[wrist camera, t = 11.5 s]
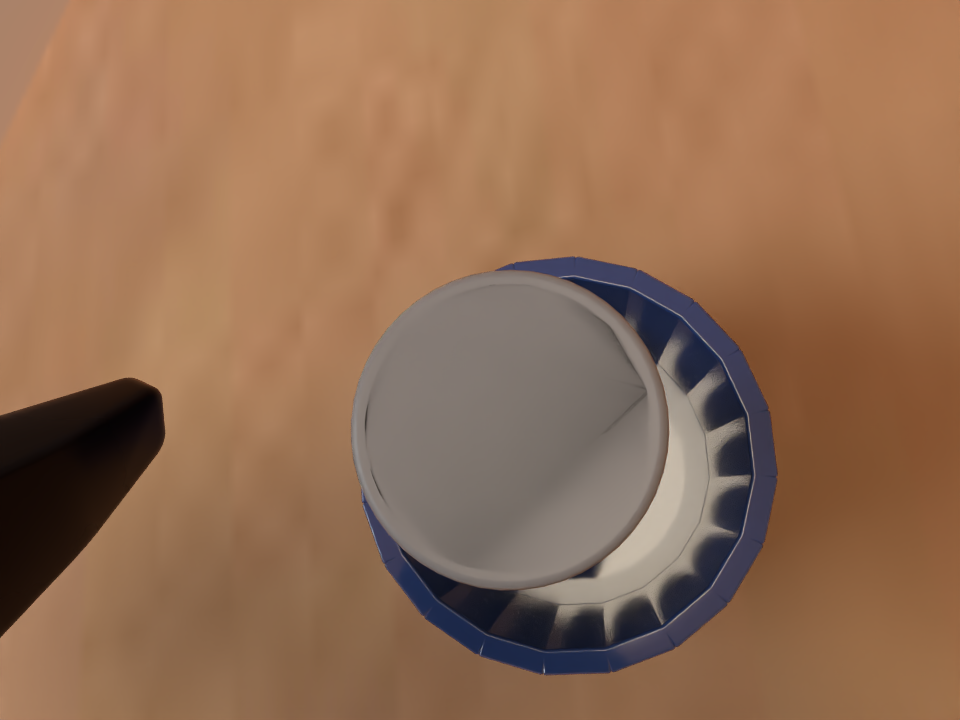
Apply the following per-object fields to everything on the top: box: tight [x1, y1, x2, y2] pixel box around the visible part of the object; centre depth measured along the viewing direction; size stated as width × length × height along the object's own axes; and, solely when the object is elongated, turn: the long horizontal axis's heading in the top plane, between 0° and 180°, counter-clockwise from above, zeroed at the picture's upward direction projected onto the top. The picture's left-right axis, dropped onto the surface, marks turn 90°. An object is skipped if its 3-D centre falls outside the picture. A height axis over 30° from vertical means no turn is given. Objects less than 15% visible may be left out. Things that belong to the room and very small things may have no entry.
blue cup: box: [361, 256, 778, 675], centre depth 16 cm, size 7×7×6 cm
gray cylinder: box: [351, 270, 669, 590], centre depth 12 cm, size 2×2×12 cm
